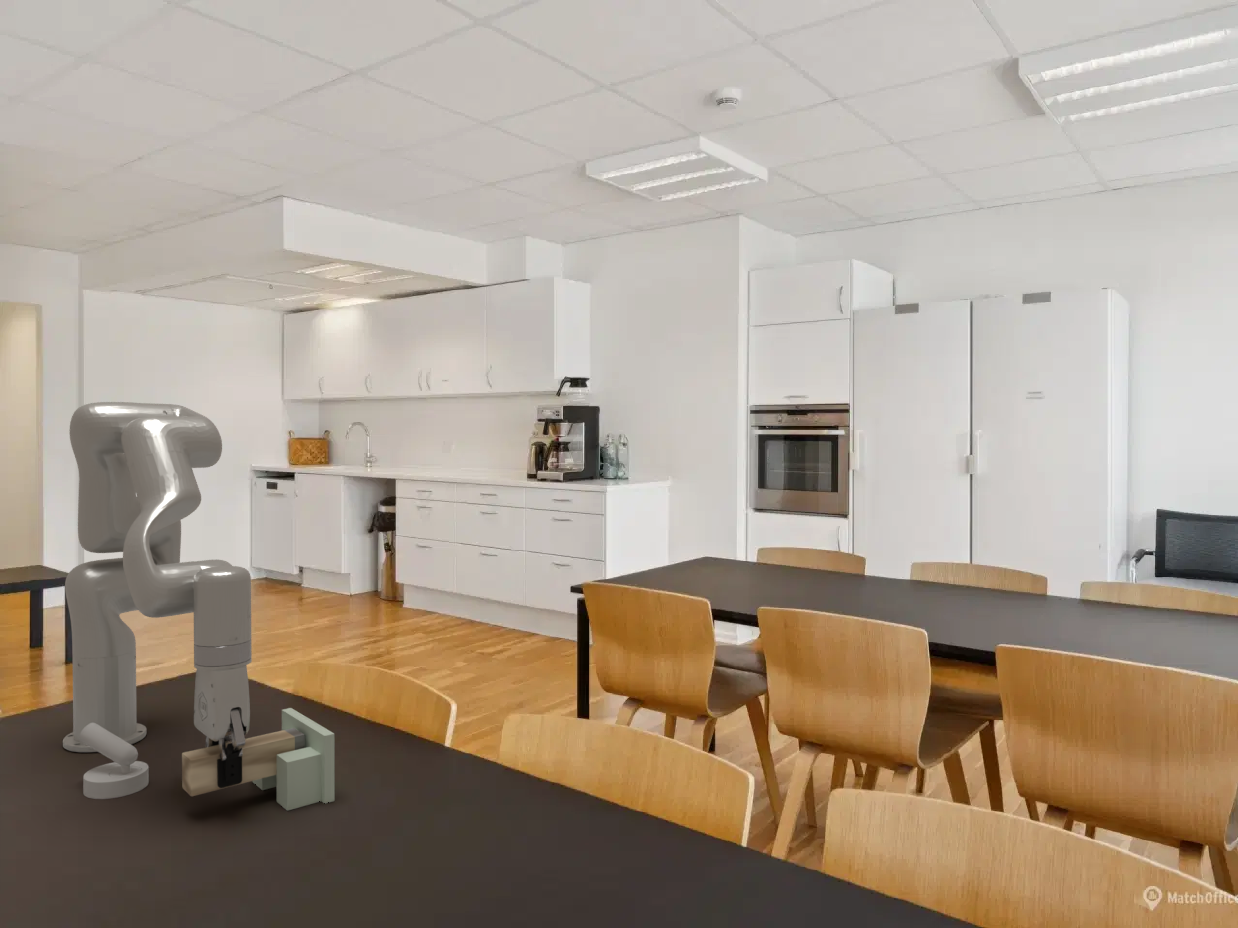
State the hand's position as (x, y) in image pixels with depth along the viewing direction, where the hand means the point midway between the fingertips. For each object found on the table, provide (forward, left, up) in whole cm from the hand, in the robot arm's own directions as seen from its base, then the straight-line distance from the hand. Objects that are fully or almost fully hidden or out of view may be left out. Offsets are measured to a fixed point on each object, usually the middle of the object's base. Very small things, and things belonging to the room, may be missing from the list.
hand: (224, 778), depth 126 cm
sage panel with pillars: (0, +9, -4) cm, 10 cm away
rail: (0, +3, 0) cm, 3 cm away
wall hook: (-19, -10, -5) cm, 22 cm away
